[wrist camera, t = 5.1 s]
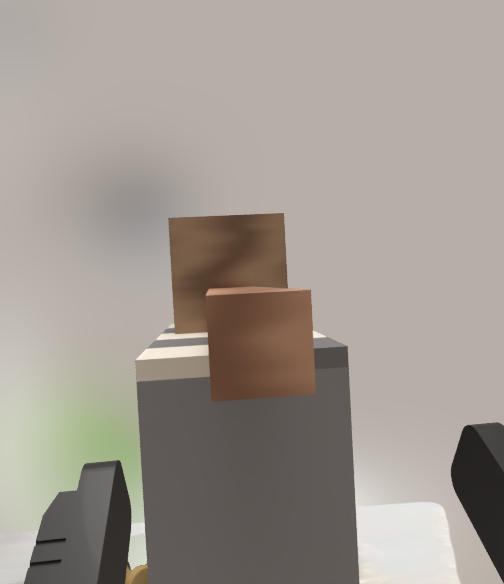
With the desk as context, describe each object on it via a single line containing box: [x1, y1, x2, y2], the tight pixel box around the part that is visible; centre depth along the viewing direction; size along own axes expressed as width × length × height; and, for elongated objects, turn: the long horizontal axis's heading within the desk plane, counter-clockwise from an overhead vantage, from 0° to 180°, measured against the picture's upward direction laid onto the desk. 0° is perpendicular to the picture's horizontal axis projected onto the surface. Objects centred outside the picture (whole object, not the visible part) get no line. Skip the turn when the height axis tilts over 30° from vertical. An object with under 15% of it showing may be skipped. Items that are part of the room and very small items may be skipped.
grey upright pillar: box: [135, 324, 359, 584], centre depth 33 cm, size 10×20×32 cm, turn 5°
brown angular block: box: [169, 213, 316, 402], centre depth 28 cm, size 8×28×8 cm, turn 5°
